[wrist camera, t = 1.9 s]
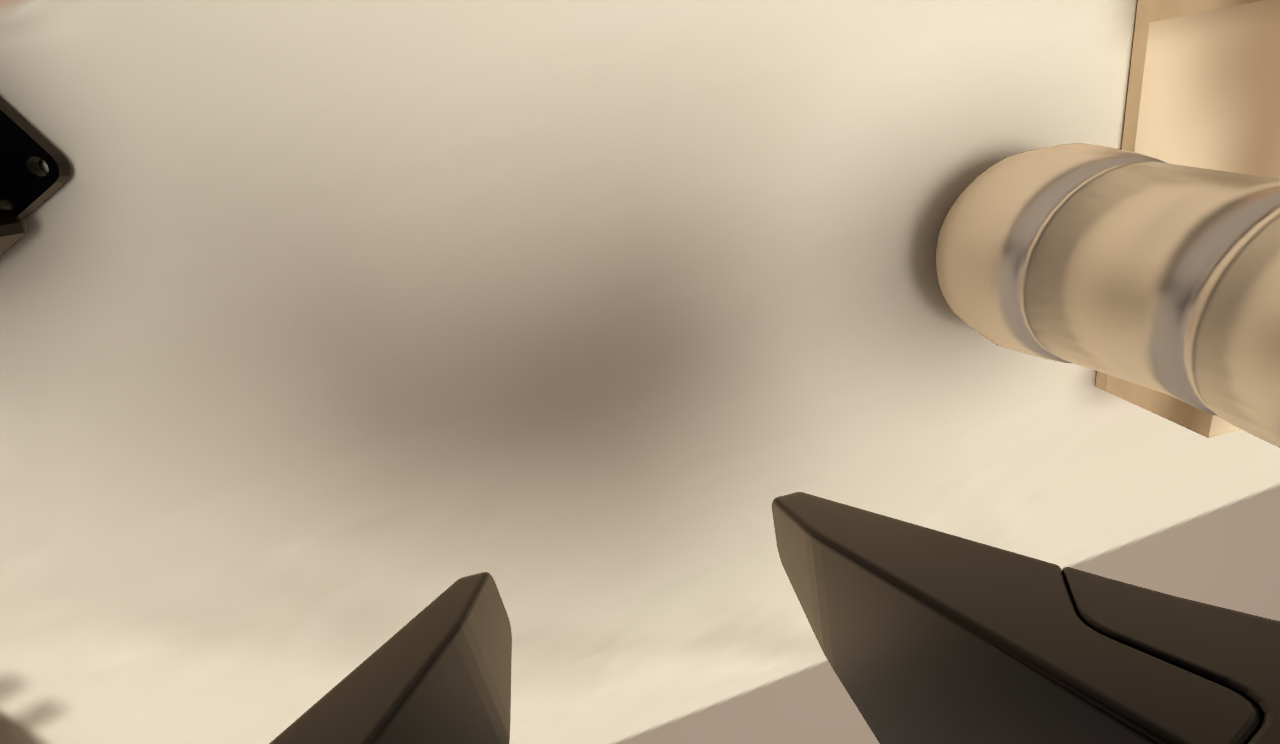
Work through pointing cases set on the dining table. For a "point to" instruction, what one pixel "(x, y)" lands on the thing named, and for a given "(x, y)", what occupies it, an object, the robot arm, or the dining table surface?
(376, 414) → the dining table surface
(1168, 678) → the robot arm
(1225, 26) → the tray
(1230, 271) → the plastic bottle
